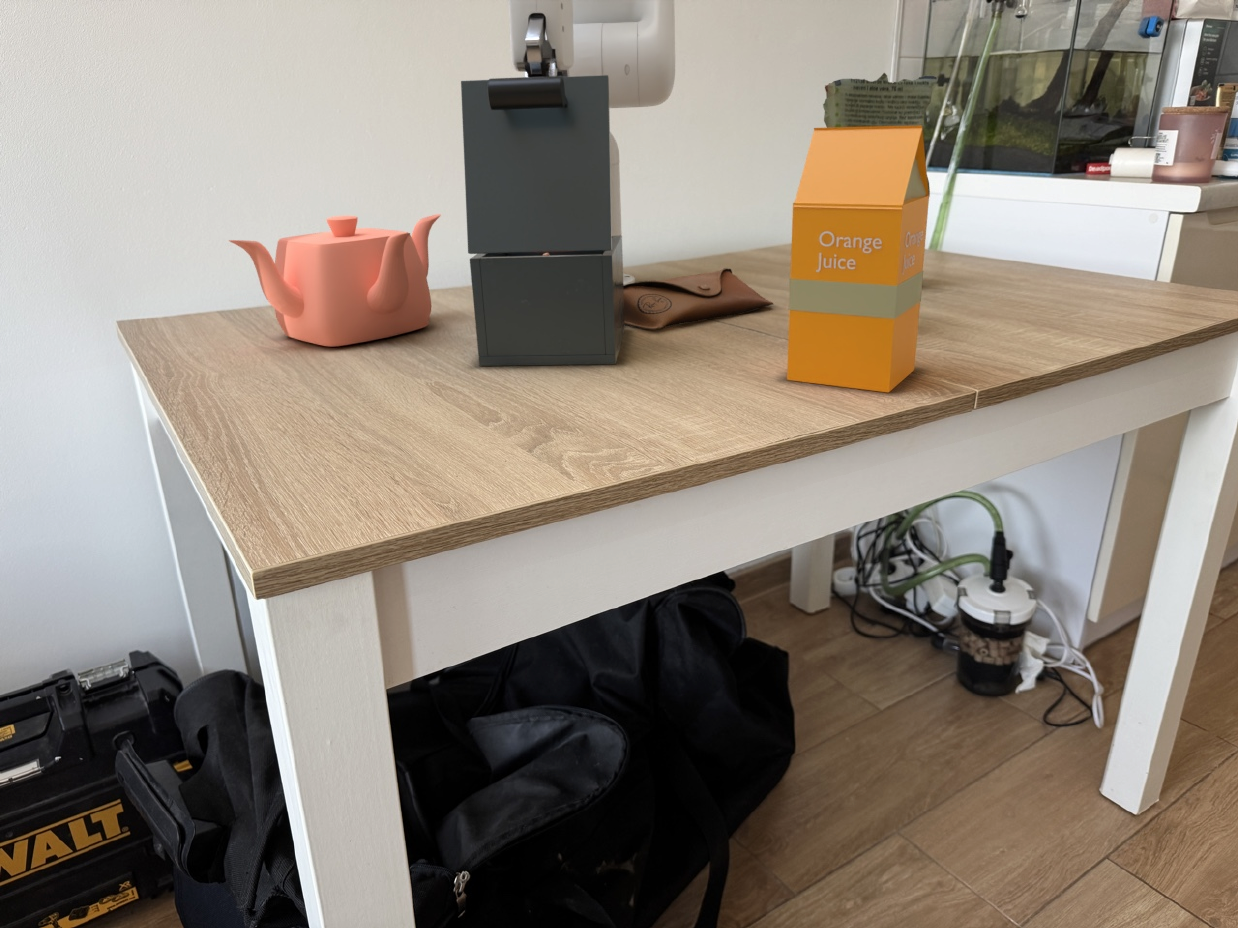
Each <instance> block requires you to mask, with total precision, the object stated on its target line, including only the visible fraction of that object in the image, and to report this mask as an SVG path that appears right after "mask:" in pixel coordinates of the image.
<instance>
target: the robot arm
mask: <svg viewBox="0 0 1238 928" xmlns="http://www.w3.org/2000/svg"><path fill="white" fill-rule="evenodd" d="M507 2H508V23H509V26H508V27H509V50H510V64H511V67H512V69H514V71H516V72H520V73H522V72H523V73H524V77H545V76H562V77H575V76H601V75H608V77H609V109H627V108H628V109H629V108H648V107H649V108H650V107H656V106H659V105H662V104H663V103H665V102H666V101H667V100H668V99H669V98H670V96H671V94H672V92H673V90H674V85H675V78H676V26H675V22H676V21H675V0H508V1H507ZM610 166H611V220H612V236H622V237H623V235H622V206H621V178H620V177H621V176H620V150H619V146H618V143H617V140H616V138H615V136H614V134H613V133H612V132H611V131H610ZM634 282H636V279H635V276H633V275H631V274H628V273H623V286H624V285H627V284H630V283H634Z"/></svg>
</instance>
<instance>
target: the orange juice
mask: <svg viewBox="0 0 1238 928" xmlns="http://www.w3.org/2000/svg"><path fill="white" fill-rule="evenodd" d="M805 158H806V159H805V161H804V166H803V169H802V173H801V177H800V181H799V185H798V188H797V191H796V196H795V198H794V202H792V225H791V251H790V278H789V292H788V293H789V294H788V312H789V314H788V337H787V338H788V339H787V340H788V342H787V369H786V371H787V372H786V380H787V381H794V382H802V383H810V384H817V385H827V386H832V387H833V386H834V387H840V388H841V387H842V388H849V389H857V390H866V391H873V392H882V393H890V392H891V391H892V390H894V389H895V388H896V387H897V386H898V385H899V384H900V383H902V381H904V380H905V379H906V378H907V377H908V376H909V375H911V374H912V373H913V372H914V371H915V368H916V367H915V366H916V355H917V345H918V343H917V342H918V330H919V319H920V309H921V301H922V291H923V279H924V261H925V250H926V238H927V237H926V236H927V226H928V215H929V203H930V197H929V192H928V182H927V177H928V173H927V163H926V151H925V142H924V129H923V130H922V125H919V126H876V127H832V128H827V127H814V128H813V132H812V136H811V140H810V143H809V148H808V151H807V154H806V157H805Z"/></svg>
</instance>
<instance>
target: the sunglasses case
mask: <svg viewBox="0 0 1238 928" xmlns="http://www.w3.org/2000/svg"><path fill="white" fill-rule="evenodd" d="M772 305H774V302H772V301H770V300H768V299H766V298H765V297H764V296H762V295H761V294H760V293H758V292H757V291H756V290H754V289H753V288H752V287H750V286H749V285H748V284H747V283H746V282H744V281H743V280H741V279H740V278H739V277H738V276H736V275H735V274H733V270H732V268H727V267H726V268H725V267H724V268H722V269H719V270H717V271H712V272H706V273H698V274H691V275H685V276H677V277H673V278H667V279H661V280H640V281H637V282H636V281H635V282H634V283H630V284H627V285H624V318H625V326H629V327H632V328H635V329H636V328H637V329H642V330H662V329H665V328H669V327H672V326H673V327H674V326H677V325H678V326H679V325H682V324H690V323H697V322H702V321H707V320H712V319H713V320H714V319H720V318H725V317H726V318H727V317H733V316H737V315H742V314H746V313H749V312H754V311H756V310H759V309H763V308H765V307H769V306H772Z"/></svg>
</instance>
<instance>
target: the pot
mask: <svg viewBox="0 0 1238 928" xmlns="http://www.w3.org/2000/svg"><path fill="white" fill-rule="evenodd" d="M441 216H442V214H438V213H437V214H432V215H429V216H426V217H422V218H421V219H419V220H418V221H417V222H416V224H415V225H414V227H413V230H412V233H411V232H408V231H403V230H394V229H384V228H372V227H360V228H359V227H358V228H357V225H358V219H359V217H358V216H356V215H336V216H334V215H333V216H330V217H327V218H325V219H326V223H327V225H328V227H329V229H330V231H323V232H314V233H307V234H301V235H300V234H299V235H294V236H287V237H282V238H279V239H278V240H277V243H276V249H275V257H274V259H273V257H272V255H271V253H270V251H268V249H267V248H266V246H264V245H263V244H262V243H261V242H260V241H256V240H240V239H228V242H230V243H232V244H234V245H236V246H237V247H239V248H241V249H243V250H244V251H245V252H246V254H248V256H249V257H250V259H251V260H252V262H253V265H254V268H255V270H256V273H257V276H258V279H259V280H258V281H259V285H260V287H261V290H262V292H263V295H264V297H265V299H266V300H267V302H268V303H269V304H270V306H272V308H273V309H274V314H275V318H276V320H277V322H278V324H279V326H280V328H281V330H282V331H283V333H284V335H285V336H286V337H289V338H292V339H295V340H299V341H302V342H306V343H308V344H310V343H311V344H313V345H319V346H324V347H341V346H342V347H343V346H348V345H354V344H359V343H366V342H372V341H376V340H381V339H386V338H390V337H394V336H399V335H402V334H406V333H410V332H413V331H417V330H421V329H423V328H426V327H427V326H428V324H429V322H430V318H431V314H432V297H431V292H430V287H429V283H428V274H429V267H430V266H429V265H430V264H429V263H430V261H429V236H430V232H431V230H432V227H433V225H434V224H435V223H436V222H437V220H438V219H439V218H440V217H441Z"/></svg>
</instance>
